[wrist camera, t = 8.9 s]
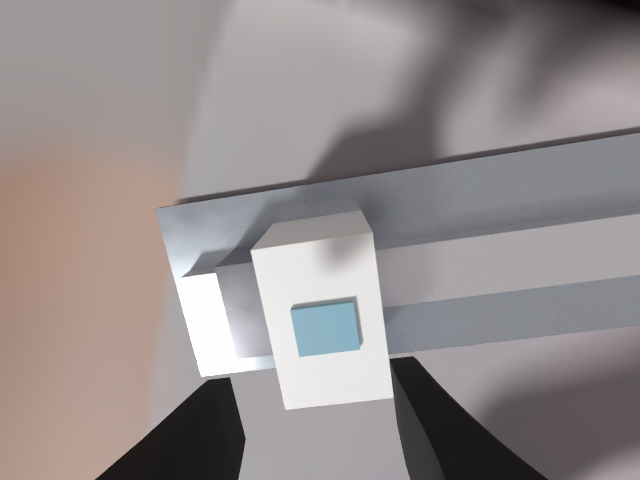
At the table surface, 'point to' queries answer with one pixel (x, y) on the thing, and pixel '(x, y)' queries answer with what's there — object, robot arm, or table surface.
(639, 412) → the table surface
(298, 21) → the table surface
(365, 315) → the block
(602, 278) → the rail
